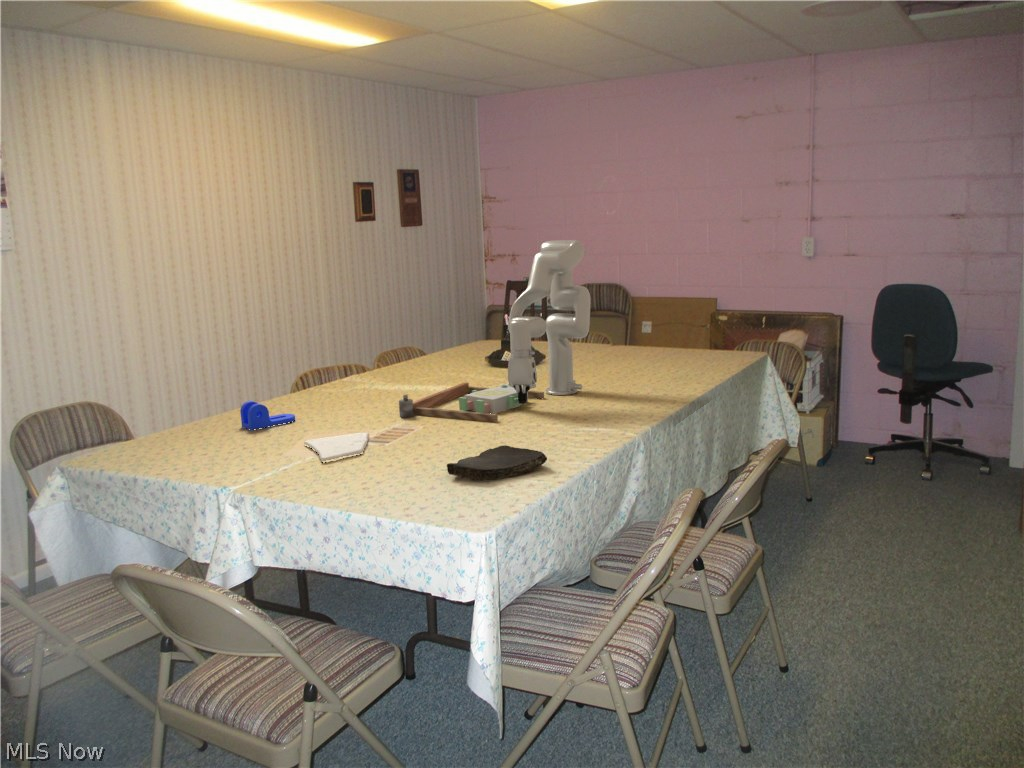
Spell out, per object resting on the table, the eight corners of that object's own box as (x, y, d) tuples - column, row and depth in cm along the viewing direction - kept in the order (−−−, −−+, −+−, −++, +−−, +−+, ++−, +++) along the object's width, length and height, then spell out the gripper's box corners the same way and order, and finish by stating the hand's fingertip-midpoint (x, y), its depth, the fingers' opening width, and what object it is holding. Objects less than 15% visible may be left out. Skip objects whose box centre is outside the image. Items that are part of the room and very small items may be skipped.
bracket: (251, 431, 287) (248, 406, 285) (242, 427, 293) (239, 402, 292) (299, 421, 298) (297, 397, 297) (289, 418, 305) (286, 394, 303)
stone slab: (440, 488, 230) (488, 489, 215) (435, 465, 229) (483, 464, 215) (506, 464, 248) (554, 463, 233) (502, 442, 247) (550, 441, 233)
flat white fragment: (304, 450, 267) (318, 467, 245) (303, 440, 267) (317, 456, 244) (368, 438, 275) (387, 454, 253) (366, 428, 275) (386, 443, 252)
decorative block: (496, 382, 324) (536, 387, 311) (497, 398, 326) (536, 404, 313) (450, 394, 305) (490, 400, 292) (451, 411, 307) (491, 418, 294)
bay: (544, 398, 321) (543, 378, 319) (487, 426, 282) (486, 403, 280) (461, 391, 338) (460, 372, 337) (397, 417, 299) (395, 395, 297)
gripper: (544, 353, 299) (545, 402, 303) (507, 351, 306) (509, 399, 309) (535, 356, 292) (536, 406, 296) (498, 354, 299) (500, 403, 303)
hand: (522, 402), depth 303 cm, fingers closed
